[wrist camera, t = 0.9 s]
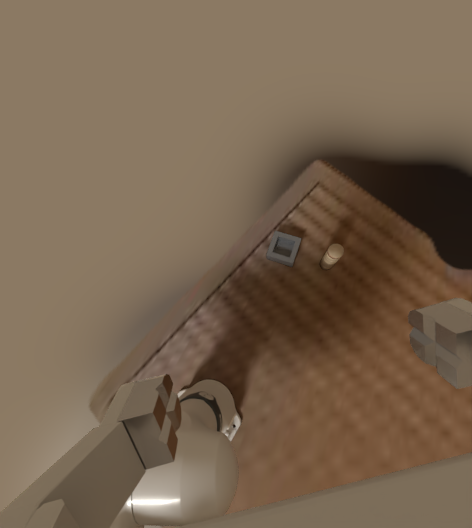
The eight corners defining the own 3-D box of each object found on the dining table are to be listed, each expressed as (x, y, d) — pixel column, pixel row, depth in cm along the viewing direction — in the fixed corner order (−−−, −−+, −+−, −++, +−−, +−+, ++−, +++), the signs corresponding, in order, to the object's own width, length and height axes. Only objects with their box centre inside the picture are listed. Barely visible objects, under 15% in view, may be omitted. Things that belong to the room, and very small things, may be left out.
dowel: (330, 271, 74) (341, 259, 61) (318, 267, 75) (326, 255, 62) (334, 260, 74) (345, 245, 62) (321, 256, 75) (330, 241, 63)
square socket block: (292, 267, 76) (293, 263, 72) (266, 258, 78) (266, 255, 74) (300, 242, 77) (301, 238, 74) (275, 235, 79) (275, 230, 75)
